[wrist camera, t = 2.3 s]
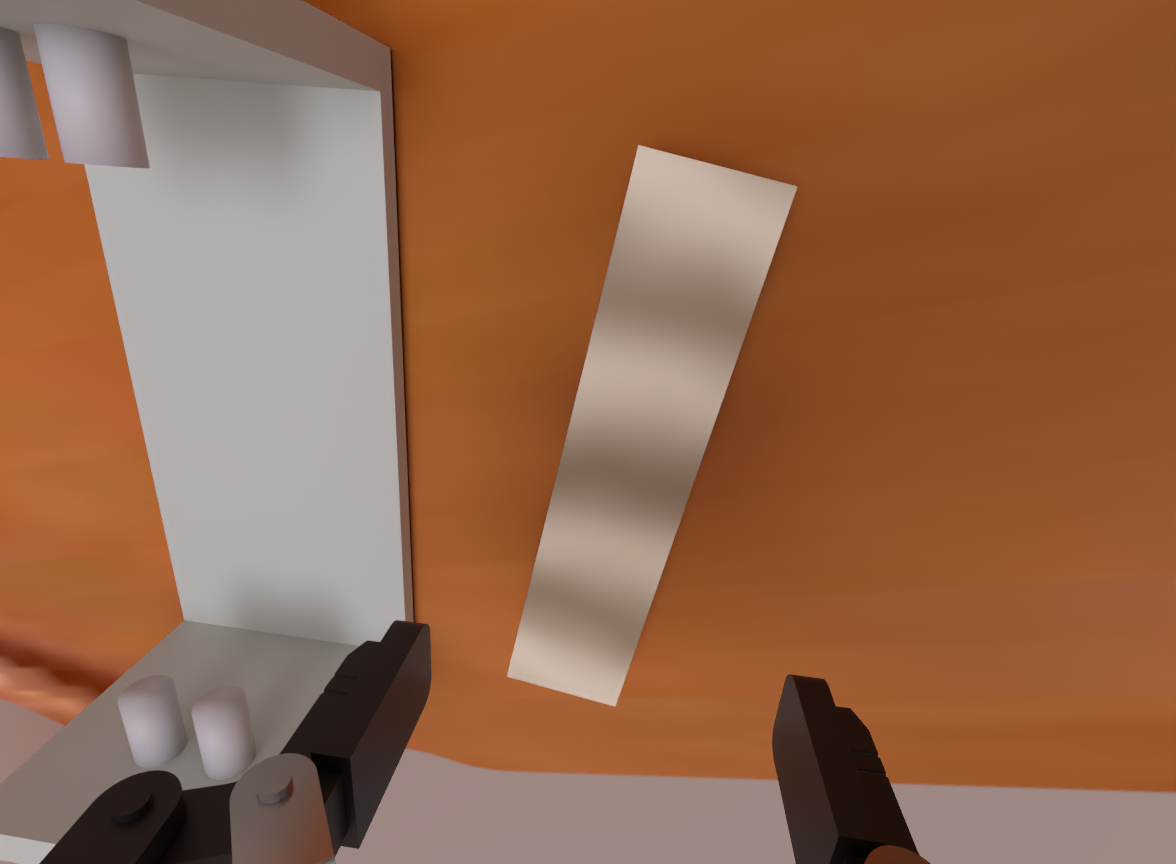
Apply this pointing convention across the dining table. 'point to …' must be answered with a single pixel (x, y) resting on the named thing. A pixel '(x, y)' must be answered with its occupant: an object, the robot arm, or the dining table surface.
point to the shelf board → (644, 412)
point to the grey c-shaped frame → (231, 364)
